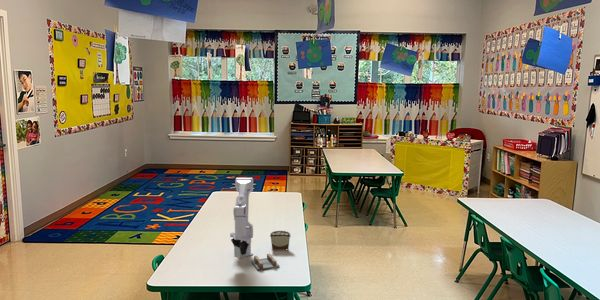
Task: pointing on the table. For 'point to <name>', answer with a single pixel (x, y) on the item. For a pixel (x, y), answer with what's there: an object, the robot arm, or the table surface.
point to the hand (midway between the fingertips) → (240, 252)
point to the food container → (280, 240)
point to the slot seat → (264, 263)
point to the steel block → (238, 252)
